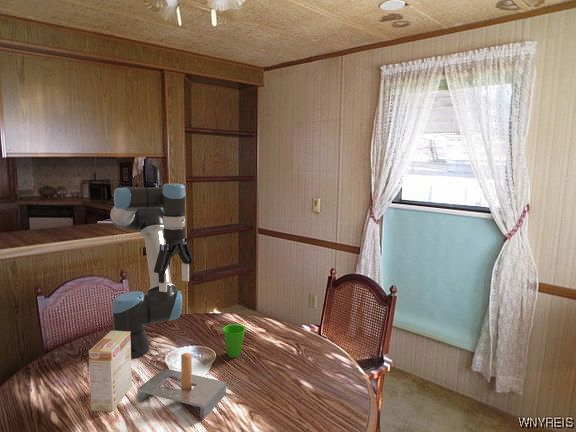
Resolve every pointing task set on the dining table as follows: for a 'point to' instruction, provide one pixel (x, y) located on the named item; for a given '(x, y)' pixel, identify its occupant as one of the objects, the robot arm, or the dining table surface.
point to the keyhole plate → (201, 395)
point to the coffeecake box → (110, 370)
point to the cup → (234, 339)
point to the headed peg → (186, 372)
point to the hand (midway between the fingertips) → (174, 285)
